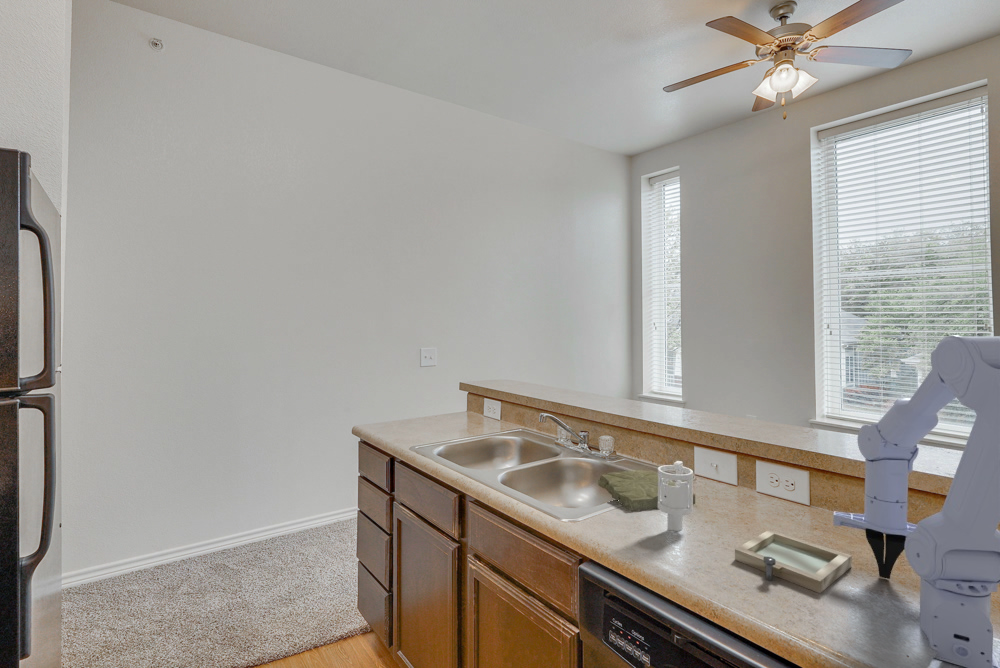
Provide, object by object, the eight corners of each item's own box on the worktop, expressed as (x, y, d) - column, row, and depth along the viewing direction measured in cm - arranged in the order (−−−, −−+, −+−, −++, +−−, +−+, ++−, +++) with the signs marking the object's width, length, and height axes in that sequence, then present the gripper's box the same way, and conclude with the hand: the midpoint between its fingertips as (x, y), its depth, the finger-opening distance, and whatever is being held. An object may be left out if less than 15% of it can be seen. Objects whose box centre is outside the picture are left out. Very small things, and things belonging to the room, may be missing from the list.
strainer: (696, 532, 105) (696, 463, 104) (687, 544, 99) (687, 471, 99) (663, 524, 109) (663, 457, 109) (653, 535, 103) (653, 465, 103)
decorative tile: (651, 479, 141) (651, 467, 141) (696, 505, 121) (696, 491, 121) (592, 485, 136) (592, 473, 136) (629, 513, 116) (629, 499, 116)
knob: (774, 591, 82) (774, 562, 82) (762, 588, 83) (762, 559, 83) (775, 586, 84) (776, 558, 83) (763, 583, 85) (764, 555, 85)
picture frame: (817, 595, 78) (817, 583, 78) (731, 561, 90) (731, 550, 89) (851, 566, 87) (851, 555, 87) (769, 538, 99) (770, 529, 99)
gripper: (938, 498, 82) (937, 577, 82) (834, 482, 90) (833, 554, 91) (946, 512, 76) (944, 597, 76) (833, 493, 84) (832, 570, 85)
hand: (884, 575), depth 83 cm, fingers closed
